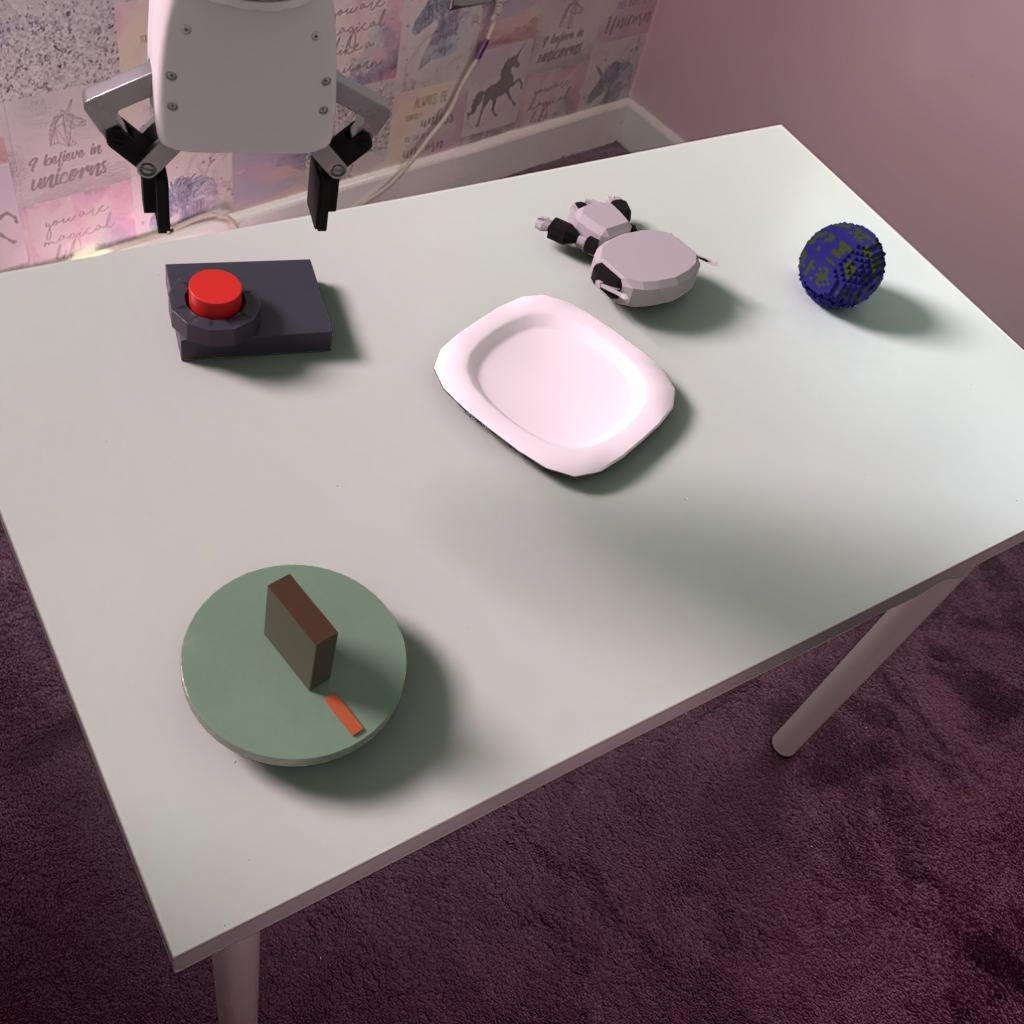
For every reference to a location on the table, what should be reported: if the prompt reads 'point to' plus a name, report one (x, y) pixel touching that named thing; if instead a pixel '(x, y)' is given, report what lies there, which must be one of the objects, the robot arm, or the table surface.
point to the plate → (556, 384)
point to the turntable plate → (269, 687)
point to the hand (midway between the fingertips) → (240, 218)
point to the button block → (252, 311)
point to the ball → (842, 265)
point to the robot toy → (626, 253)
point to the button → (215, 294)
